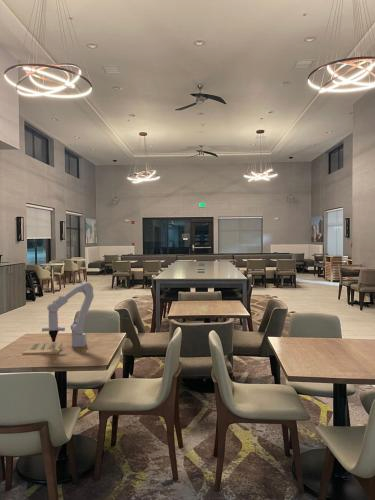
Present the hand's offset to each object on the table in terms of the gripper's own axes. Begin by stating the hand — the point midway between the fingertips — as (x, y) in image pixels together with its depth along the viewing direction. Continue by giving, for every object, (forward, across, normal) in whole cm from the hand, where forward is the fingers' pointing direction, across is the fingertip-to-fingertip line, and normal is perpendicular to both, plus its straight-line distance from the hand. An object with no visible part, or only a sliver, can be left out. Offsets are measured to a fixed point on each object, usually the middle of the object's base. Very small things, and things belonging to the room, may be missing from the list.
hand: (53, 341), depth 268 cm
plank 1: (+3, +11, +1) cm, 12 cm away
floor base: (+5, +6, +4) cm, 9 cm away
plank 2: (+3, 0, +1) cm, 4 cm away
